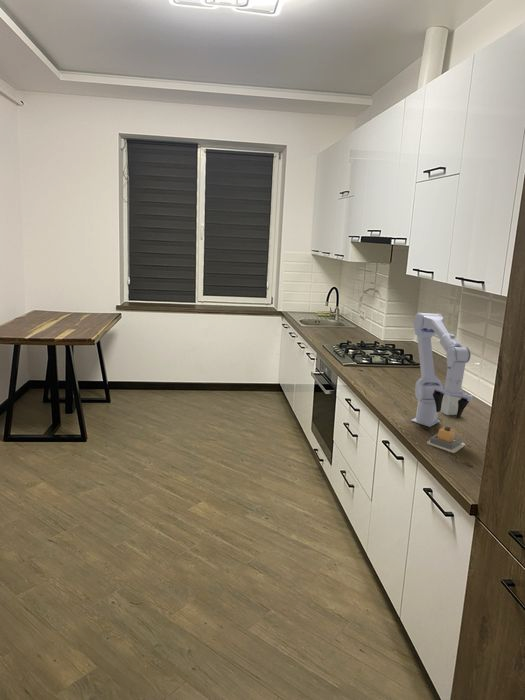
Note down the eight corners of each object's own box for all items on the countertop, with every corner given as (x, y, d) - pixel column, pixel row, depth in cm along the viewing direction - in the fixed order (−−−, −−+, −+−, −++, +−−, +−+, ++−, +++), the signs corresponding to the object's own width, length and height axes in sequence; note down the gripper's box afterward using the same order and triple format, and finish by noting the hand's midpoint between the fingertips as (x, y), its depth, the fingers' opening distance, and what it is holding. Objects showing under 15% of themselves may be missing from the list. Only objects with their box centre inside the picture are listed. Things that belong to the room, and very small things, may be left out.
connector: (445, 438, 188) (447, 422, 186) (455, 441, 185) (458, 426, 184) (436, 443, 182) (439, 427, 181) (447, 447, 180) (450, 431, 178)
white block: (447, 415, 216) (452, 388, 213) (440, 412, 220) (444, 384, 217) (458, 414, 218) (463, 387, 215) (451, 411, 222) (455, 384, 219)
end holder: (438, 437, 191) (439, 429, 190) (464, 445, 184) (466, 438, 184) (426, 443, 183) (427, 436, 183) (453, 453, 177) (455, 445, 176)
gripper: (430, 376, 188) (424, 411, 191) (470, 386, 179) (463, 422, 182) (438, 373, 193) (432, 407, 196) (477, 382, 184) (470, 418, 187)
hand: (448, 414), depth 189 cm, fingers open, 7 cm apart
